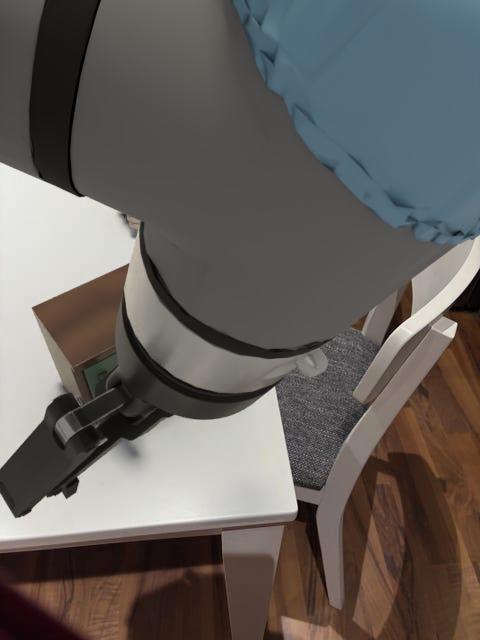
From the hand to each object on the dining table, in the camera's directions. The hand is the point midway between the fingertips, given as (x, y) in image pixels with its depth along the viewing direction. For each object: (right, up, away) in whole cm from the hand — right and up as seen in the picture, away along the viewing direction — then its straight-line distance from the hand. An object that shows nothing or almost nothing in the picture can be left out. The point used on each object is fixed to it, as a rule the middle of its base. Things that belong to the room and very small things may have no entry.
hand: (144, 424), depth 39 cm
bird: (-11, +26, +51) cm, 58 cm away
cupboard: (-6, 0, +27) cm, 28 cm away
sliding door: (-4, -4, +21) cm, 22 cm away
